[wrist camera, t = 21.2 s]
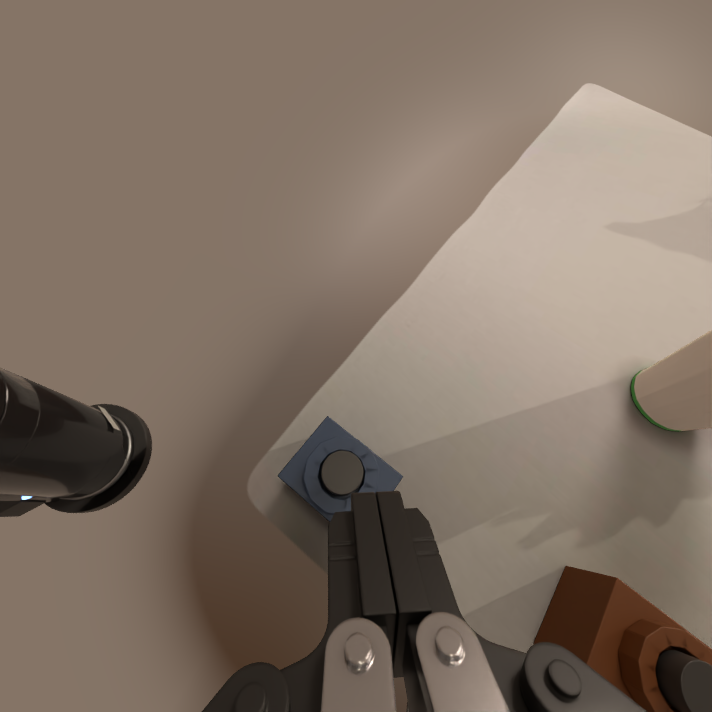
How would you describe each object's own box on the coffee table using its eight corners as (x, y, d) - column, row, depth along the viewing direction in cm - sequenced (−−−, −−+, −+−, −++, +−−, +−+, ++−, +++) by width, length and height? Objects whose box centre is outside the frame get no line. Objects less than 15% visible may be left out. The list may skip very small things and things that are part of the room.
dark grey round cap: (369, 470, 30) (371, 468, 28) (344, 504, 28) (345, 504, 27) (338, 446, 30) (339, 441, 29) (313, 477, 29) (312, 475, 27)
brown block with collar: (533, 643, 33) (601, 687, 24) (565, 565, 35) (636, 581, 27) (632, 726, 31) (743, 806, 22) (658, 637, 33) (765, 678, 25)
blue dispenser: (390, 482, 38) (407, 474, 29) (351, 539, 35) (358, 547, 27) (327, 430, 39) (327, 410, 31) (286, 481, 37) (274, 473, 29)
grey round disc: (649, 687, 25) (674, 701, 23) (663, 637, 26) (688, 647, 24) (697, 726, 24) (728, 744, 22) (709, 673, 26) (739, 686, 24)
